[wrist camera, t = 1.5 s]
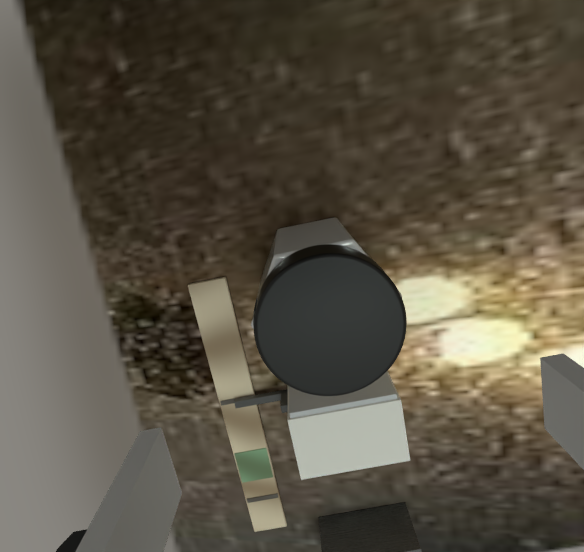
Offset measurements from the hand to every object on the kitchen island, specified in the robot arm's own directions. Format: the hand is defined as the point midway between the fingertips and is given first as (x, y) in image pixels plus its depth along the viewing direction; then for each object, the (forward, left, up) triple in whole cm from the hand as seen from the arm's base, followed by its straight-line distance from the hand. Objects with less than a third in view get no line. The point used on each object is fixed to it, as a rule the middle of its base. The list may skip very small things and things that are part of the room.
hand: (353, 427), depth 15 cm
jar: (0, 0, -21) cm, 21 cm away
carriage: (+11, -2, -20) cm, 23 cm away
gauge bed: (+11, -8, -20) cm, 25 cm away
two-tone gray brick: (+24, 0, -20) cm, 31 cm away
